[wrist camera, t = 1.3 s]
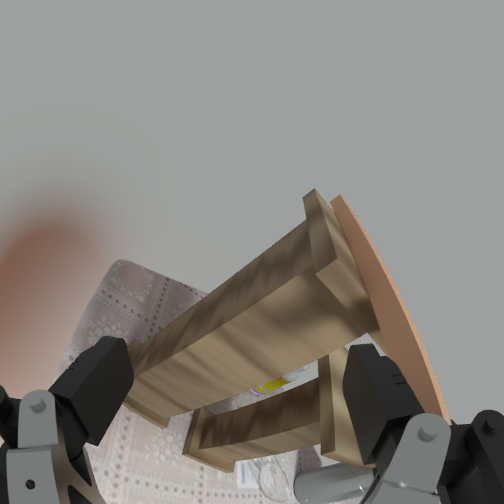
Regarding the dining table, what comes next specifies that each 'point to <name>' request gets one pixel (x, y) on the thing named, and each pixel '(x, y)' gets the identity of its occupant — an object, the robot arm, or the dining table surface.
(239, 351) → the pedestals
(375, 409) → the robot arm
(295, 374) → the supplement bottle
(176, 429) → the dining table surface
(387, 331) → the slat
